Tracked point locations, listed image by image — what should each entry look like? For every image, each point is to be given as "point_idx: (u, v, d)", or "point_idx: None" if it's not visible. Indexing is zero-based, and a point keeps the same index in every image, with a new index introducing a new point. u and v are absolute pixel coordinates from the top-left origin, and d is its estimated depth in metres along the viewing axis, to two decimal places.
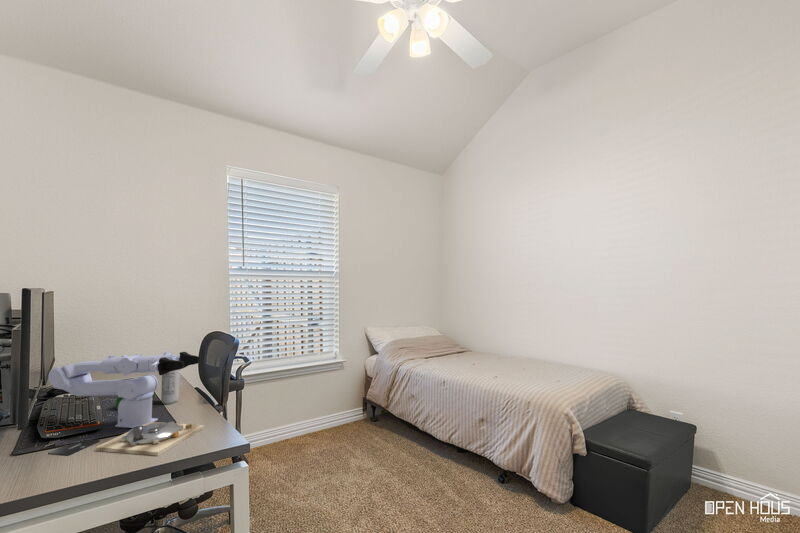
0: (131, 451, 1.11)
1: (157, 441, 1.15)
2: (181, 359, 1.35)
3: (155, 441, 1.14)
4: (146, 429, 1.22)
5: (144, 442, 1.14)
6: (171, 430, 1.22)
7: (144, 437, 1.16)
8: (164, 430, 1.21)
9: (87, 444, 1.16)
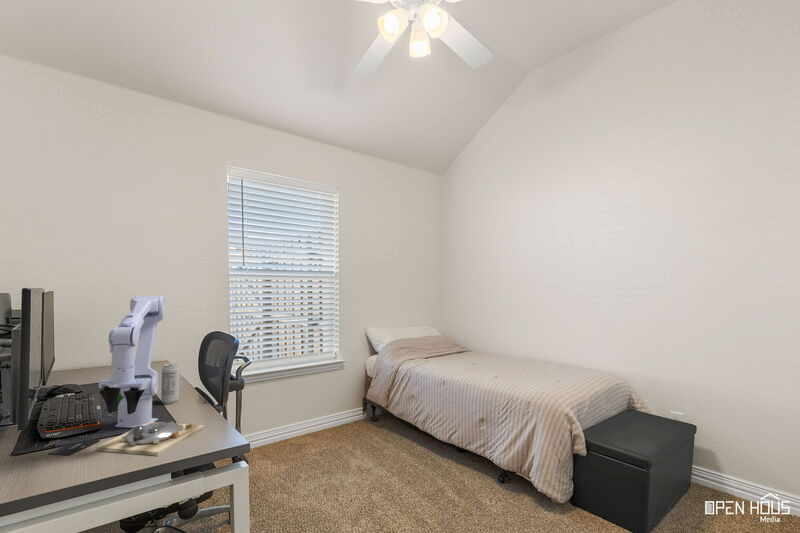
0: (131, 451, 1.11)
1: (157, 441, 1.15)
2: None
3: (155, 441, 1.14)
4: (146, 429, 1.22)
5: (144, 442, 1.14)
6: (171, 430, 1.22)
7: (144, 437, 1.16)
8: (164, 430, 1.21)
9: (87, 444, 1.16)
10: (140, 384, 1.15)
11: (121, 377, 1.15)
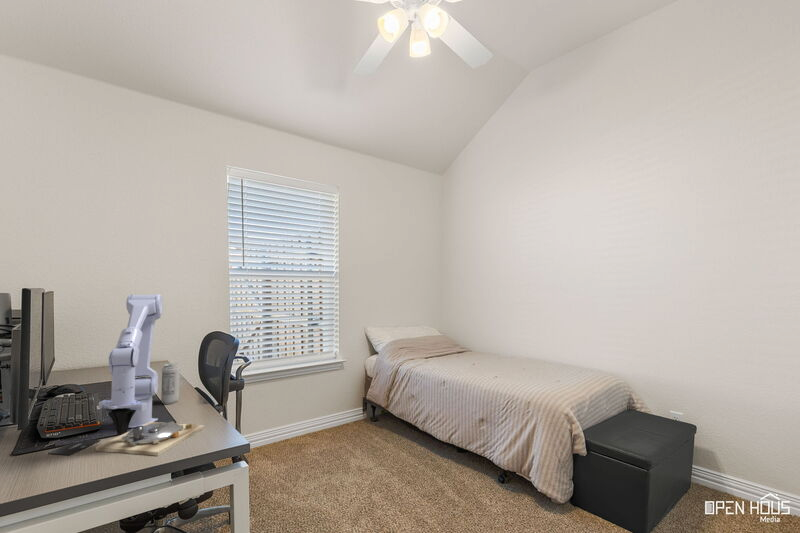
0: (131, 451, 1.11)
1: (157, 441, 1.15)
2: None
3: (155, 441, 1.14)
4: (146, 429, 1.22)
5: (144, 442, 1.14)
6: (171, 430, 1.22)
7: (144, 437, 1.16)
8: (164, 430, 1.21)
9: (87, 444, 1.16)
10: (140, 405, 1.15)
11: (121, 398, 1.15)
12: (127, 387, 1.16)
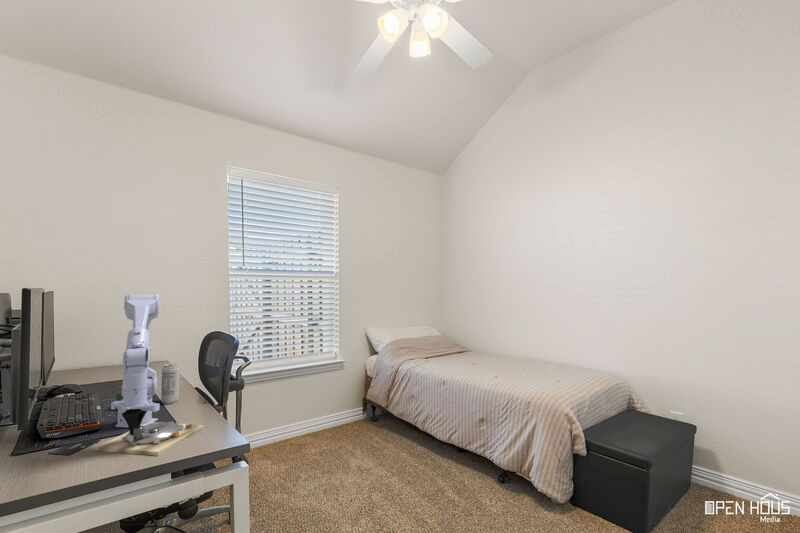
0: (131, 451, 1.11)
1: (157, 441, 1.15)
2: None
3: (155, 441, 1.14)
4: (146, 429, 1.22)
5: (145, 442, 1.14)
6: (171, 430, 1.22)
7: (144, 437, 1.16)
8: (164, 430, 1.21)
9: (87, 444, 1.16)
10: (153, 406, 1.15)
11: (134, 399, 1.14)
12: (142, 387, 1.16)
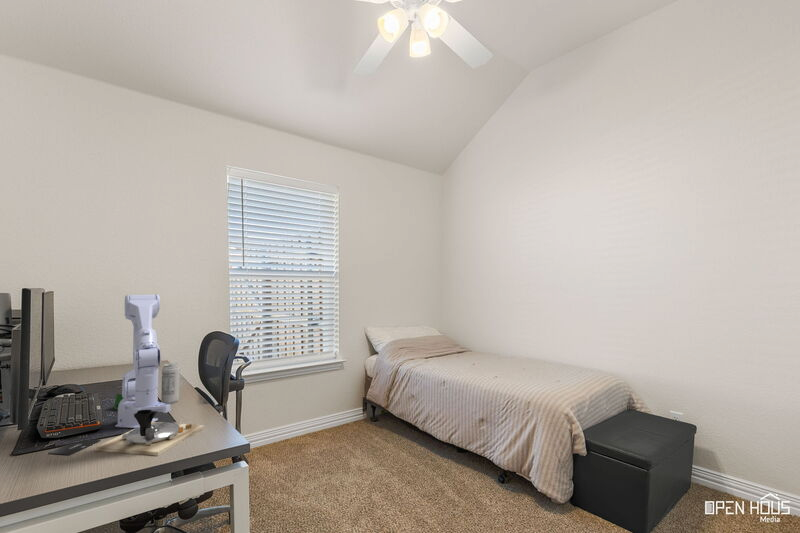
0: (131, 451, 1.11)
1: (172, 436, 1.18)
2: None
3: (171, 437, 1.18)
4: None
5: (160, 440, 1.16)
6: (173, 427, 1.24)
7: None
8: (165, 428, 1.23)
9: (88, 444, 1.16)
10: (164, 407, 1.14)
11: (145, 400, 1.14)
12: (154, 388, 1.16)
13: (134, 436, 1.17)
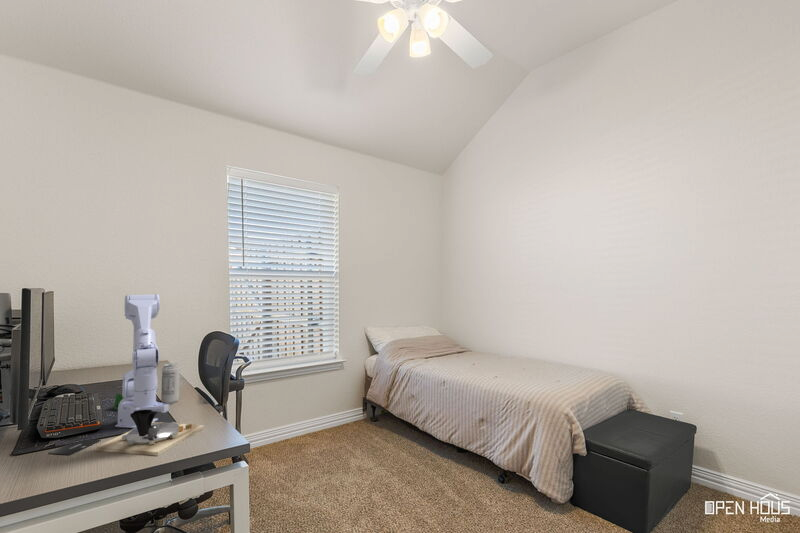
0: (131, 451, 1.11)
1: (175, 435, 1.19)
2: None
3: (173, 436, 1.19)
4: None
5: (162, 439, 1.17)
6: (172, 426, 1.25)
7: None
8: (165, 428, 1.23)
9: (88, 444, 1.16)
10: (162, 407, 1.14)
11: (143, 400, 1.14)
12: (152, 388, 1.16)
13: (135, 436, 1.17)
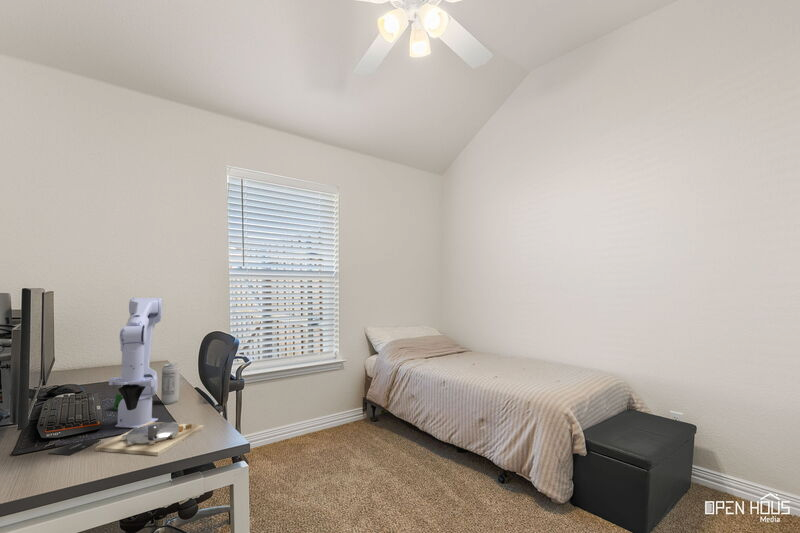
0: (131, 451, 1.11)
1: (175, 435, 1.19)
2: None
3: (173, 436, 1.19)
4: (141, 432, 1.20)
5: (162, 439, 1.17)
6: (172, 426, 1.25)
7: None
8: (165, 428, 1.23)
9: (88, 444, 1.16)
10: (149, 381, 1.18)
11: (131, 375, 1.18)
12: (138, 364, 1.19)
13: (135, 436, 1.17)
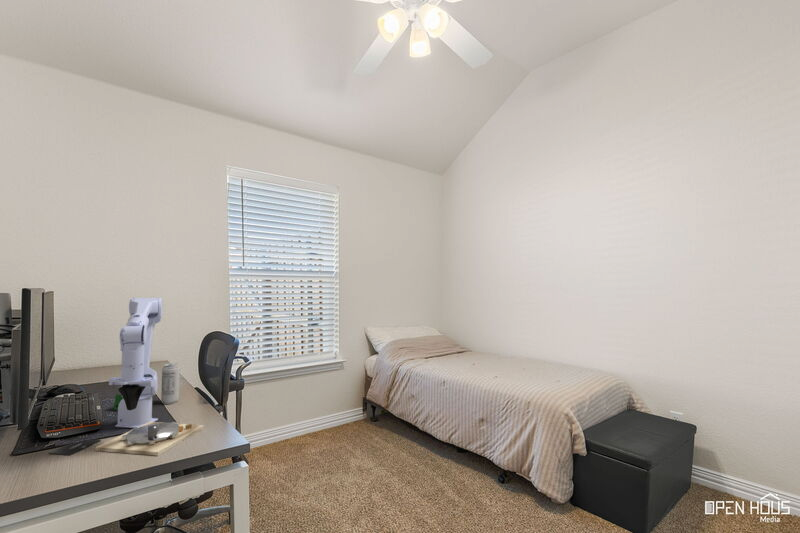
0: (131, 451, 1.11)
1: (175, 435, 1.19)
2: None
3: (173, 436, 1.19)
4: (141, 432, 1.20)
5: (162, 439, 1.17)
6: (172, 426, 1.25)
7: None
8: (165, 428, 1.23)
9: (88, 444, 1.16)
10: (149, 381, 1.18)
11: (131, 375, 1.18)
12: (138, 364, 1.19)
13: (135, 436, 1.17)
